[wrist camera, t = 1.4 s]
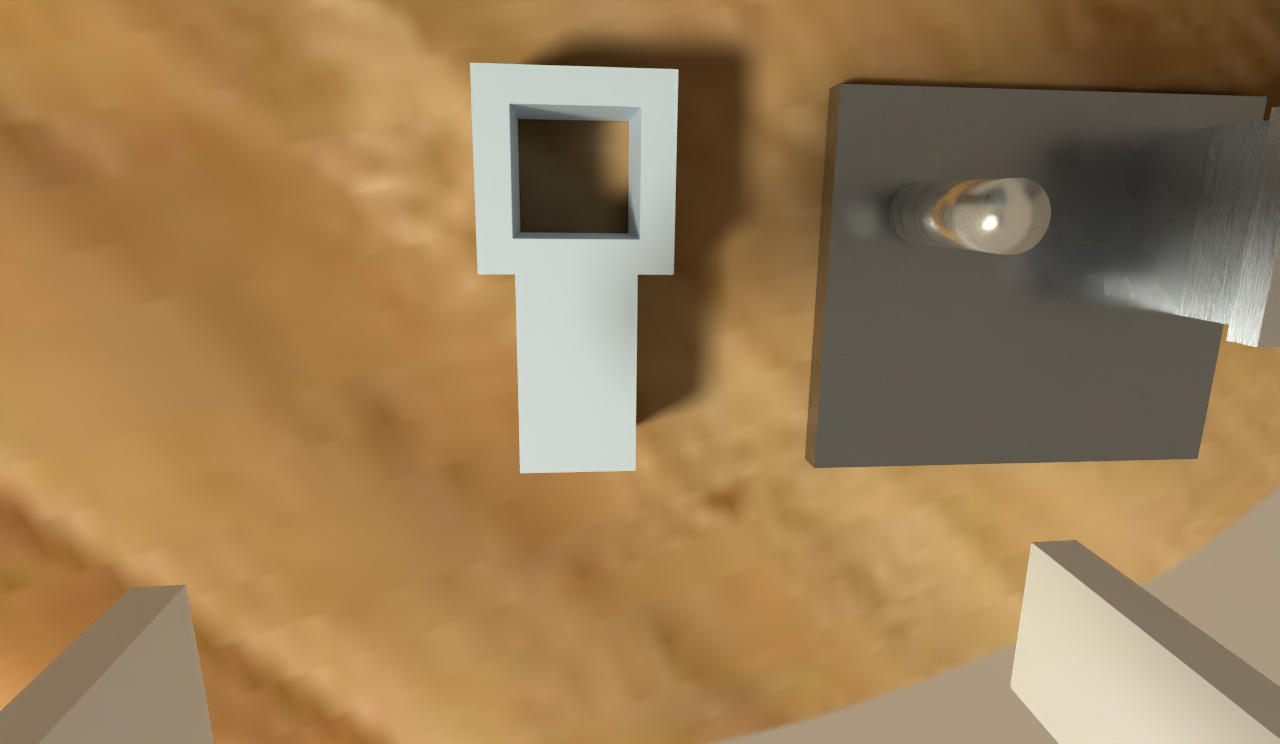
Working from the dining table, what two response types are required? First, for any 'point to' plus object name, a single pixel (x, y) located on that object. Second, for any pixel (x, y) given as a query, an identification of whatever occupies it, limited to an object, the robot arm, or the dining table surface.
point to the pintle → (973, 214)
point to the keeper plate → (1040, 275)
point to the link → (575, 256)
